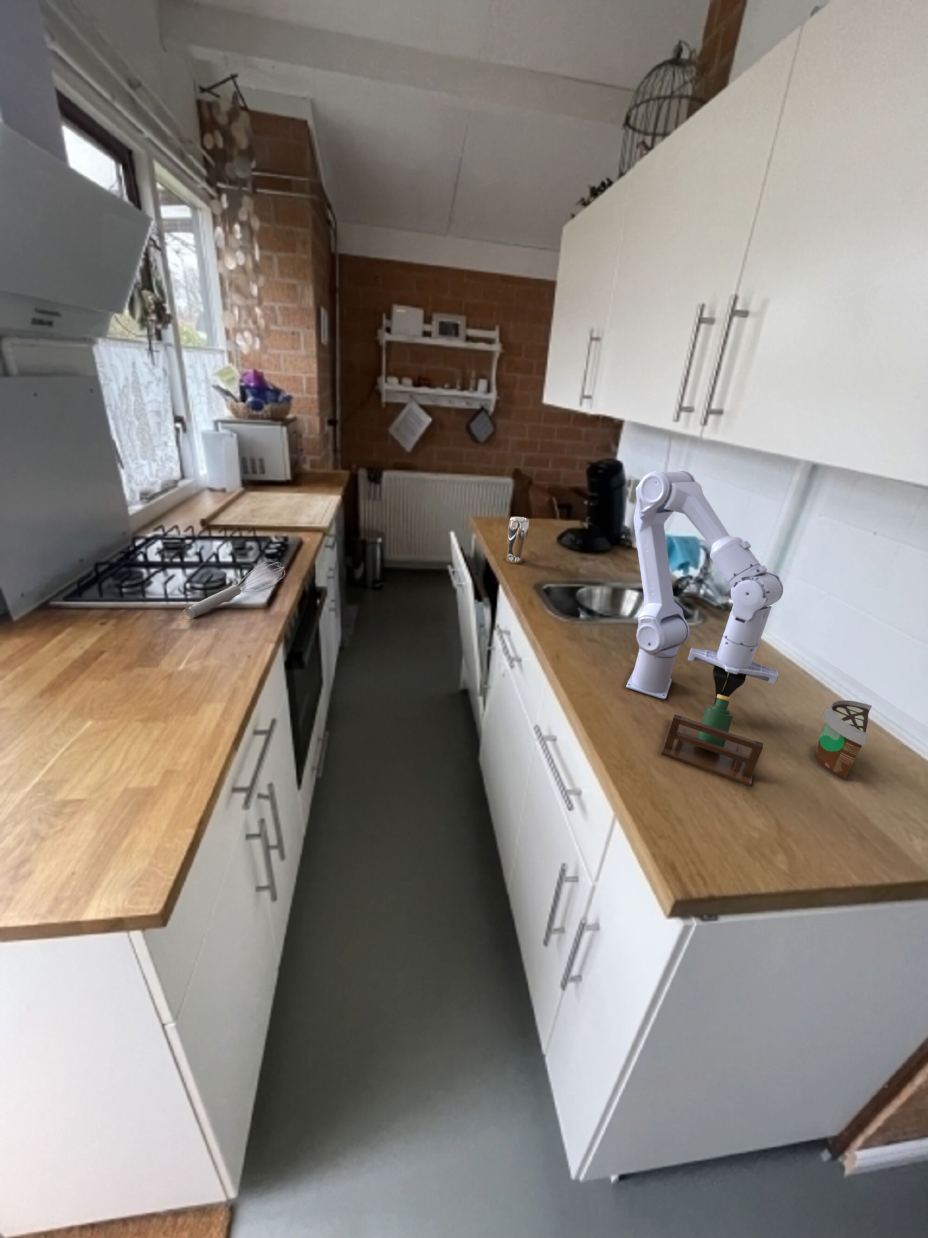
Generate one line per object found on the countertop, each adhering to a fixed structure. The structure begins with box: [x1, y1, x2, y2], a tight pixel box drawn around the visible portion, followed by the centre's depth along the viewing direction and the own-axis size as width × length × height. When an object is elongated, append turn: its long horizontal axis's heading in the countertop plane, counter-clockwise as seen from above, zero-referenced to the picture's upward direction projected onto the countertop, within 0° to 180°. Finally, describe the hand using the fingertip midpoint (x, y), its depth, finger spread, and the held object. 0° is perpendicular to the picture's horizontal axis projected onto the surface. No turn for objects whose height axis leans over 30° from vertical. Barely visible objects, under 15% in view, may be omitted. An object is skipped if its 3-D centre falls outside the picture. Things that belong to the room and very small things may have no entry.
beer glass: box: [504, 516, 530, 564], centre depth 177 cm, size 7×7×15 cm
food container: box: [813, 699, 873, 780], centre depth 89 cm, size 12×6×10 cm, turn 141°
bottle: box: [697, 694, 734, 747], centre depth 89 cm, size 4×4×9 cm
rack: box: [660, 713, 764, 787], centre depth 88 cm, size 11×14×7 cm
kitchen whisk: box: [180, 560, 286, 621], centre depth 130 cm, size 6×34×6 cm, turn 159°
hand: (718, 703), depth 96 cm, fingers closed
